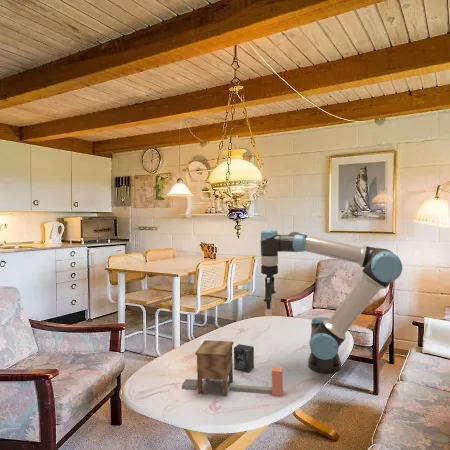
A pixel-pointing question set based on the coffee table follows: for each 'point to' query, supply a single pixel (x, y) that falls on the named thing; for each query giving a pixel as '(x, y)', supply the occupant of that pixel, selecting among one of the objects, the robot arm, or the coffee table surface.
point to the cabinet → (214, 363)
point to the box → (244, 358)
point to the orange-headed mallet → (274, 390)
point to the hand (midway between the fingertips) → (270, 311)
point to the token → (190, 384)
